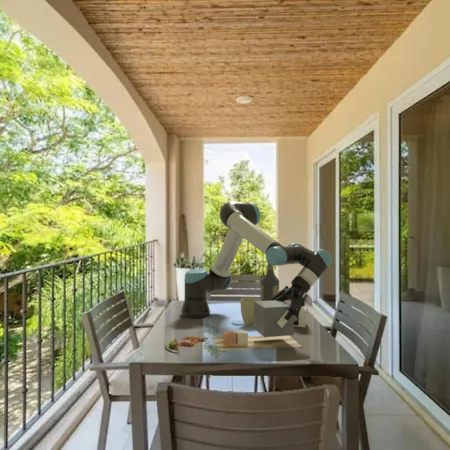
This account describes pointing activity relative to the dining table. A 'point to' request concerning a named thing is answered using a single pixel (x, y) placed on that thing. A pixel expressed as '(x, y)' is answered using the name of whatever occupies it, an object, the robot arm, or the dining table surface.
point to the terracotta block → (229, 337)
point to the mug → (248, 310)
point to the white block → (241, 337)
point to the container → (300, 317)
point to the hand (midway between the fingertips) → (270, 321)
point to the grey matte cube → (272, 318)
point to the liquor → (269, 284)
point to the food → (183, 343)
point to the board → (258, 343)
